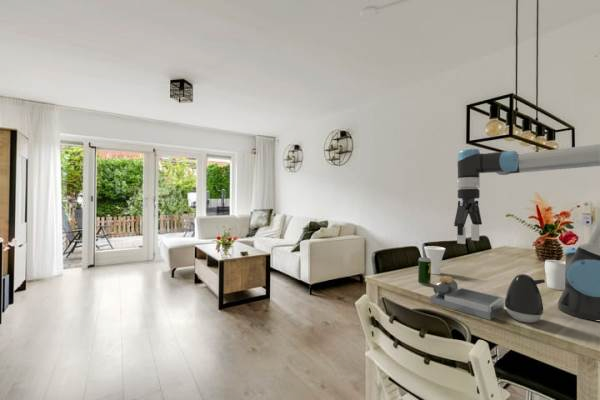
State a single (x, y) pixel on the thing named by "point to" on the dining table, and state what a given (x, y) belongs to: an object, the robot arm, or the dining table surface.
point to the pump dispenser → (524, 299)
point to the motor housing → (466, 299)
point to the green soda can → (424, 271)
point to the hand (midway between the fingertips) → (468, 242)
